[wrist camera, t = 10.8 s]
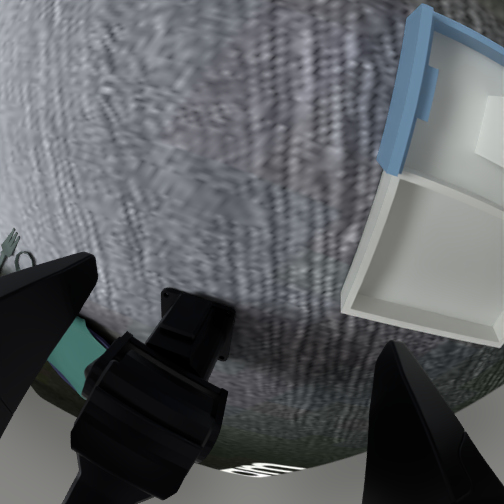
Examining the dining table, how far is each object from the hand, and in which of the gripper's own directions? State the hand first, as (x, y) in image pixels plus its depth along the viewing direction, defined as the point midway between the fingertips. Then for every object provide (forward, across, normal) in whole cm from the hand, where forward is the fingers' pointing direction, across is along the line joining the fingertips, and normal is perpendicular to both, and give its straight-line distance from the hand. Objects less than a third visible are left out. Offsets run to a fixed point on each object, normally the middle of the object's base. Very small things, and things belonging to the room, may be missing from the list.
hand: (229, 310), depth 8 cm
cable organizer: (+12, -13, -3) cm, 18 cm away
